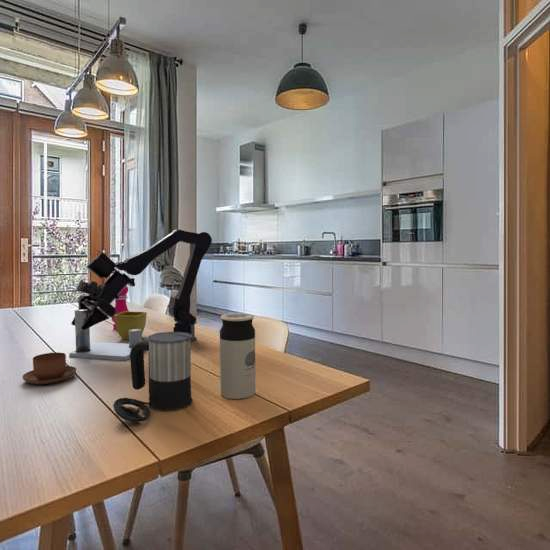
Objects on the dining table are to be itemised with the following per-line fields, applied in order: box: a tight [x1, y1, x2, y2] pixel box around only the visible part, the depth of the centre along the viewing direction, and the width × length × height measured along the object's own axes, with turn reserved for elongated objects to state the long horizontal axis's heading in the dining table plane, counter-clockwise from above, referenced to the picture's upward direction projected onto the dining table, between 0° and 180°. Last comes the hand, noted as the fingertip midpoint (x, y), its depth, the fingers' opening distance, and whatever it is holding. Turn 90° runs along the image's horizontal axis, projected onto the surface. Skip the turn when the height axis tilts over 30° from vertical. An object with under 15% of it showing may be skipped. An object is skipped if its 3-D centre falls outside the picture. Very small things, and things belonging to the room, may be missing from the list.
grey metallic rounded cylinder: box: [74, 309, 91, 352], centre depth 127 cm, size 4×4×12 cm
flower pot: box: [114, 311, 148, 340], centre depth 150 cm, size 9×9×9 cm
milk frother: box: [113, 331, 193, 423], centre depth 84 cm, size 14×16×15 cm
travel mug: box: [219, 312, 257, 400], centre depth 93 cm, size 8×8×18 cm
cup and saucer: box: [22, 352, 77, 385], centre depth 104 cm, size 12×12×6 cm
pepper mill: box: [111, 285, 130, 331], centre depth 166 cm, size 7×7×20 cm
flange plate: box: [68, 329, 147, 361], centre depth 129 cm, size 19×14×6 cm
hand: (77, 326), depth 126 cm, fingers open, 9 cm apart
